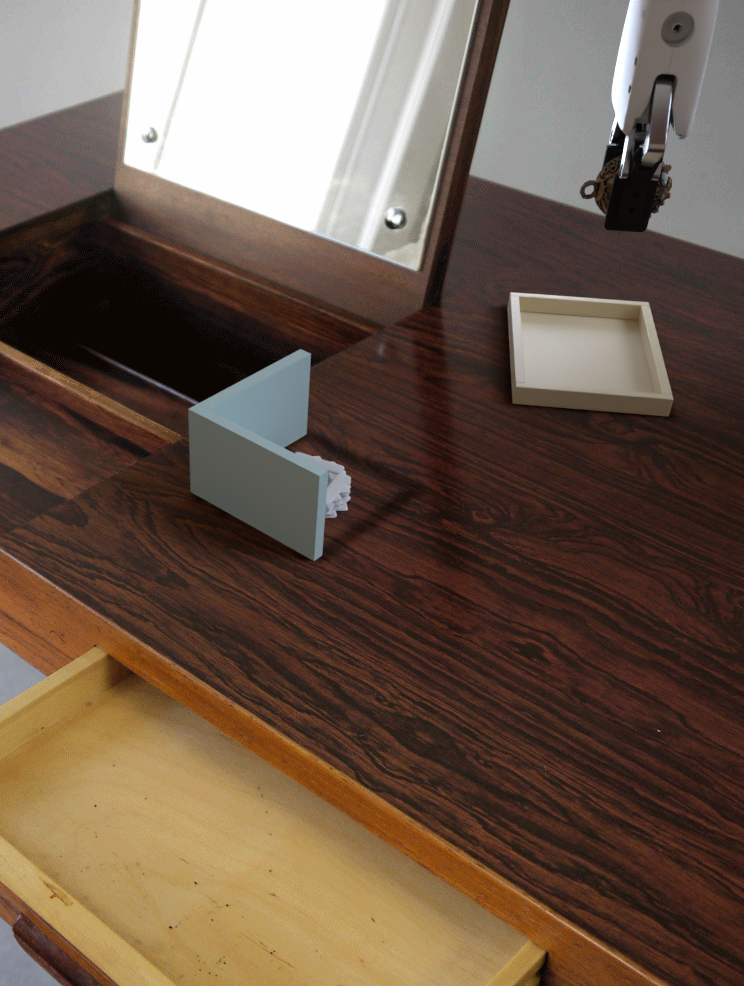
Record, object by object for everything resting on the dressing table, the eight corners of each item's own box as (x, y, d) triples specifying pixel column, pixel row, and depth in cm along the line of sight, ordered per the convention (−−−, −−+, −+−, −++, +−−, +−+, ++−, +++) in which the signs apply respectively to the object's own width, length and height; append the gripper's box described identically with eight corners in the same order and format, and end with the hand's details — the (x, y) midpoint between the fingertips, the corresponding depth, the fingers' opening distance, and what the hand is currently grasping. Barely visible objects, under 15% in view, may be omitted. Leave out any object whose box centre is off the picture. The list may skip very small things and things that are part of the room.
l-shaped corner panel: (313, 567, 79) (319, 476, 73) (190, 497, 84) (188, 408, 79) (417, 494, 85) (429, 406, 80) (296, 435, 91) (300, 349, 86)
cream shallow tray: (506, 312, 107) (510, 291, 105) (643, 323, 106) (648, 301, 104) (511, 409, 94) (515, 386, 93) (667, 422, 93) (673, 399, 92)
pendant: (678, 228, 88) (697, 161, 85) (589, 237, 87) (604, 170, 83) (646, 203, 92) (662, 138, 88) (559, 211, 90) (573, 146, 87)
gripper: (765, -21, 70) (684, 263, 83) (720, -78, 83) (655, 176, 95) (641, -26, 71) (579, 256, 83) (614, -82, 83) (564, 171, 96)
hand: (620, 211), depth 89 cm, fingers closed on pendant, 5 cm apart
